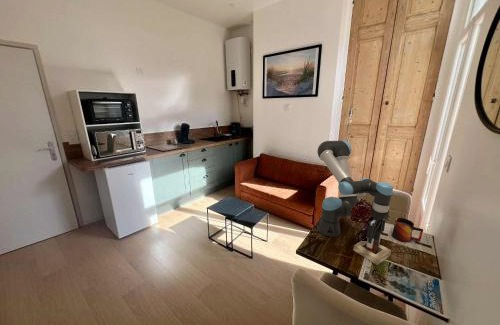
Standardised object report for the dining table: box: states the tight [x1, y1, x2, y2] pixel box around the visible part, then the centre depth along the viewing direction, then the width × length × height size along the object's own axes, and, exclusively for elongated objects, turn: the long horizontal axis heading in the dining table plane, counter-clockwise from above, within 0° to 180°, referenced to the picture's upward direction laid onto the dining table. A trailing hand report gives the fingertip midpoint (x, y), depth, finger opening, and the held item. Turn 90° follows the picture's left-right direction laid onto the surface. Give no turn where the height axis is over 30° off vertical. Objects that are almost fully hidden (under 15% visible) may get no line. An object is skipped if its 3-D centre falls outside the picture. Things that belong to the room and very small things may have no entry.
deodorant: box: [366, 228, 381, 254], centre depth 118 cm, size 6×6×15 cm
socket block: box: [352, 240, 392, 266], centre depth 120 cm, size 14×14×4 cm
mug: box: [391, 217, 424, 244], centre depth 132 cm, size 10×14×12 cm
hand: (373, 244), depth 119 cm, fingers open, 7 cm apart
